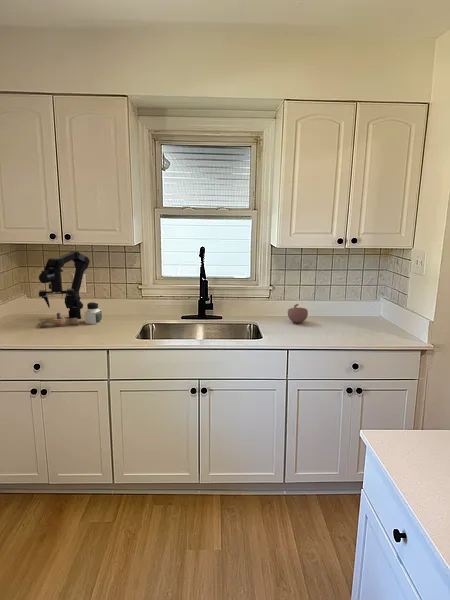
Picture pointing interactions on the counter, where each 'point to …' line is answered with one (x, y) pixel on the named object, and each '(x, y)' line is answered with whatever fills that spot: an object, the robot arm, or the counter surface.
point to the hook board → (50, 323)
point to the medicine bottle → (93, 314)
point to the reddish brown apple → (297, 314)
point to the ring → (59, 320)
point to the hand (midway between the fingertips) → (57, 307)
